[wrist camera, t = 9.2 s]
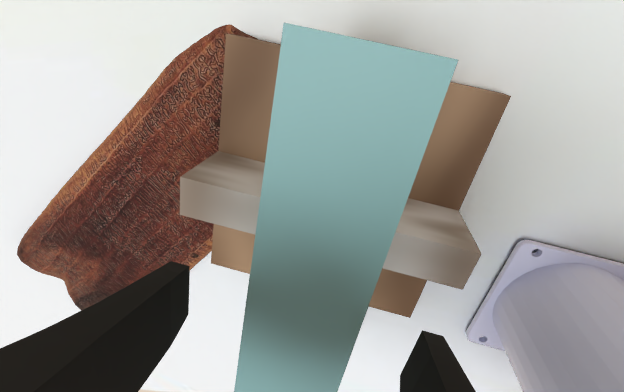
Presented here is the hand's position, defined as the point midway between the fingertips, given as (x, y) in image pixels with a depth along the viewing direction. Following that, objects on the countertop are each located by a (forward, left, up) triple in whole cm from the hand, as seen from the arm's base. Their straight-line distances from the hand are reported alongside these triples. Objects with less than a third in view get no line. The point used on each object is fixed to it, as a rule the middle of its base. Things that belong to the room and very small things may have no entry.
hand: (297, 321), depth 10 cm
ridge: (0, 0, -10) cm, 10 cm away
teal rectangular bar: (0, 0, -5) cm, 5 cm away
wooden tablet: (+12, +5, -11) cm, 17 cm away
